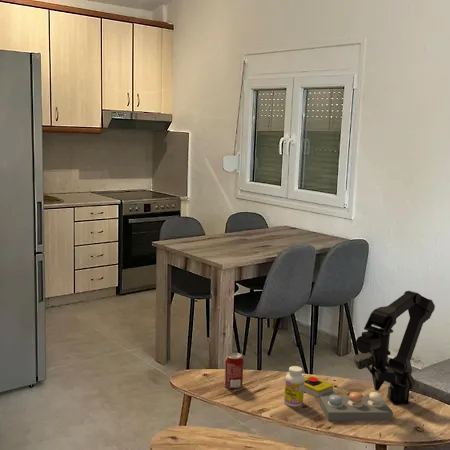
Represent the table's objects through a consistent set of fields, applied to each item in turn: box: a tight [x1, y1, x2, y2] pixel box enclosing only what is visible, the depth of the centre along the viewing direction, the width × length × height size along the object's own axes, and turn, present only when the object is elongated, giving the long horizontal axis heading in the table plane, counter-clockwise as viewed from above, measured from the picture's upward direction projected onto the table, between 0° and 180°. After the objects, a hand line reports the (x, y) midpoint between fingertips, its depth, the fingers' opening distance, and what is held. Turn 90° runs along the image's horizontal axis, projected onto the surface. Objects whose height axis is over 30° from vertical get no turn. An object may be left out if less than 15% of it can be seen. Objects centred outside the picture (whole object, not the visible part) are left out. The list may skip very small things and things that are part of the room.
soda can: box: [223, 352, 244, 390], centre depth 217 cm, size 7×7×12 cm
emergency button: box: [304, 375, 339, 400], centre depth 217 cm, size 9×4×15 cm
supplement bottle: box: [283, 365, 305, 408], centre depth 205 cm, size 7×7×13 cm
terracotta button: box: [348, 391, 364, 403], centre depth 200 cm, size 4×4×2 cm
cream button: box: [369, 391, 384, 403], centre depth 200 cm, size 4×4×2 cm
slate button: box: [329, 394, 343, 405], centre depth 199 cm, size 4×4×2 cm
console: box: [318, 395, 394, 422], centre depth 200 cm, size 22×12×3 cm, turn 95°
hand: (376, 390), depth 200 cm, fingers closed
